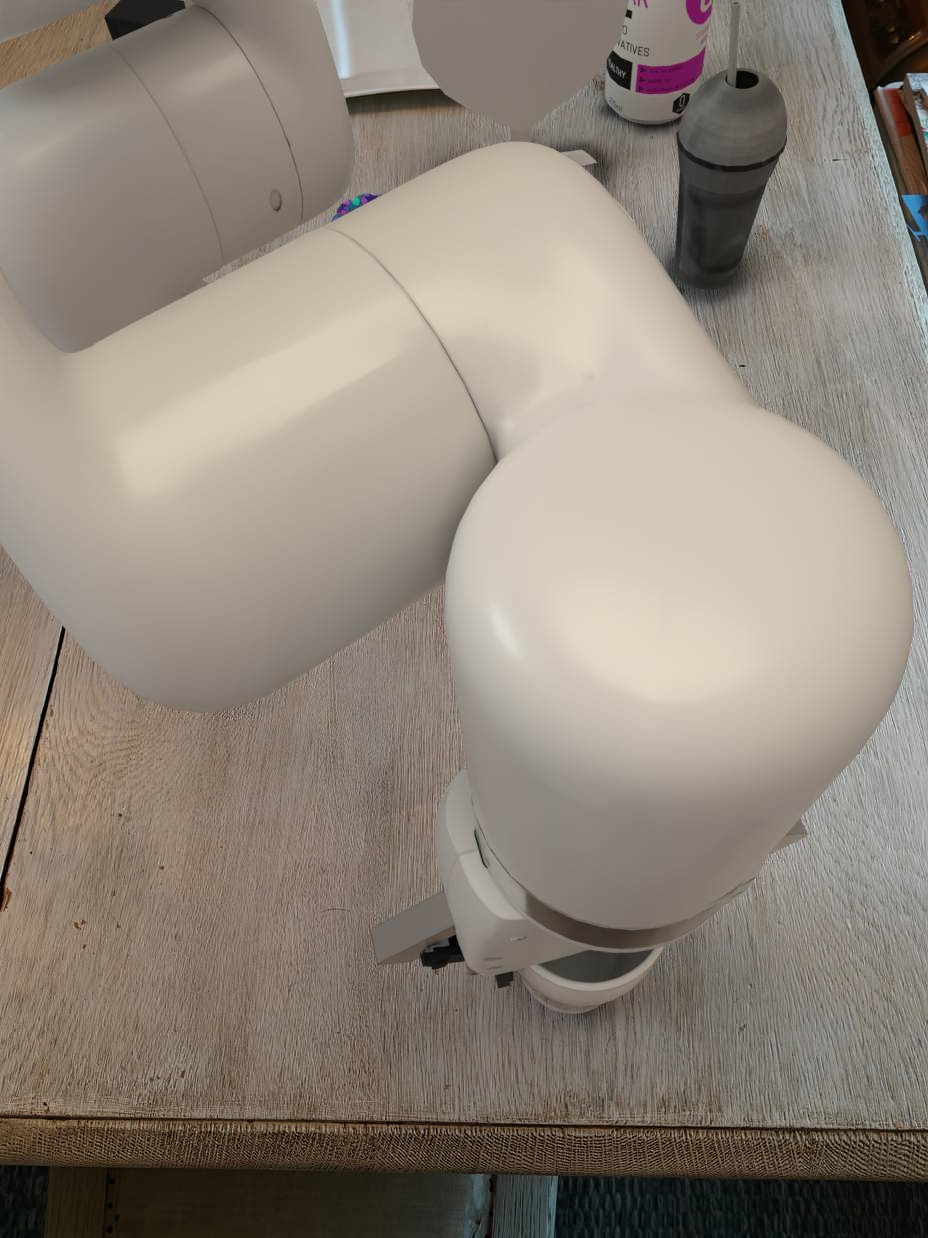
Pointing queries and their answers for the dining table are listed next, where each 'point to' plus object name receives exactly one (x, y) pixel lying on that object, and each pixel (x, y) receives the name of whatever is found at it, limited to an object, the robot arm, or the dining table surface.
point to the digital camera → (138, 14)
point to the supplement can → (658, 59)
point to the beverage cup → (725, 167)
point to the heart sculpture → (516, 54)
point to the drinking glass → (587, 978)
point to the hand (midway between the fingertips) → (579, 923)
